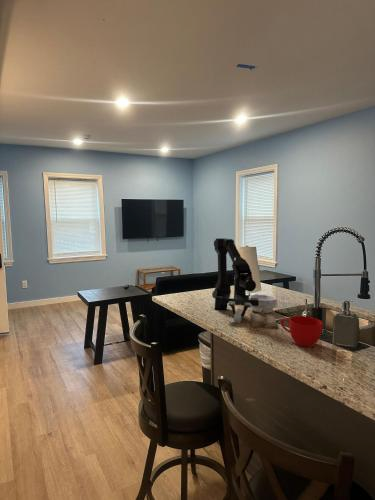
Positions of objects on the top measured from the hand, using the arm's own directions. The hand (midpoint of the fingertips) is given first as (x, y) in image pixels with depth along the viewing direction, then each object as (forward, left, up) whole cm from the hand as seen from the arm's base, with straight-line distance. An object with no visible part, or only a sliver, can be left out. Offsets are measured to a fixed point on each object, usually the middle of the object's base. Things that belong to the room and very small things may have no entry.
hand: (238, 317), depth 170 cm
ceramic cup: (+25, -26, -1) cm, 36 cm away
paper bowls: (+13, +20, -2) cm, 24 cm away
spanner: (0, 0, -1) cm, 1 cm away
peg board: (+12, 0, -1) cm, 12 cm away
